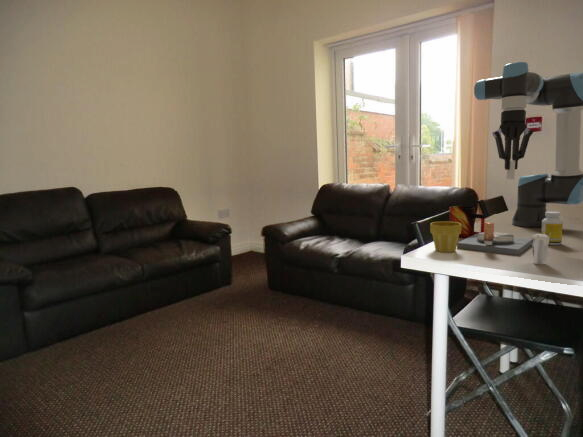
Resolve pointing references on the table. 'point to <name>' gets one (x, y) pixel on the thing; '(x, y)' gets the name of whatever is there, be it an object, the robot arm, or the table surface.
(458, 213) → the mug
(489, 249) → the base plate
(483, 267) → the table surface
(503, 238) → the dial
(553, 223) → the pill bottle
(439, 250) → the plant pot
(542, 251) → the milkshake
